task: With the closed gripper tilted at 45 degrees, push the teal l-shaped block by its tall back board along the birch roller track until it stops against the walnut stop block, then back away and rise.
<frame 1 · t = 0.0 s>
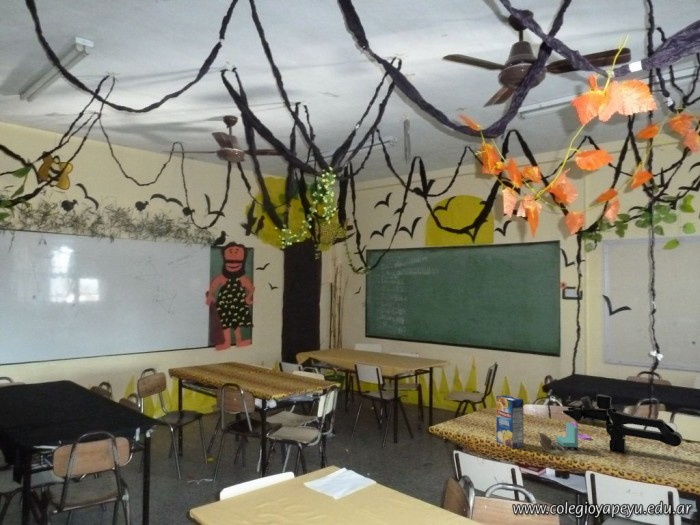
hand: (565, 409, 274), 17 cm above the table, tool horizontal, fingers open, 9 cm apart
bracket: (579, 437, 282), on the table
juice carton: (509, 444, 265), on the table
roller track: (560, 448, 259), on the table
teal l-shaped block: (566, 434, 259), point 7 cm above the table, slide at 0.0 cm
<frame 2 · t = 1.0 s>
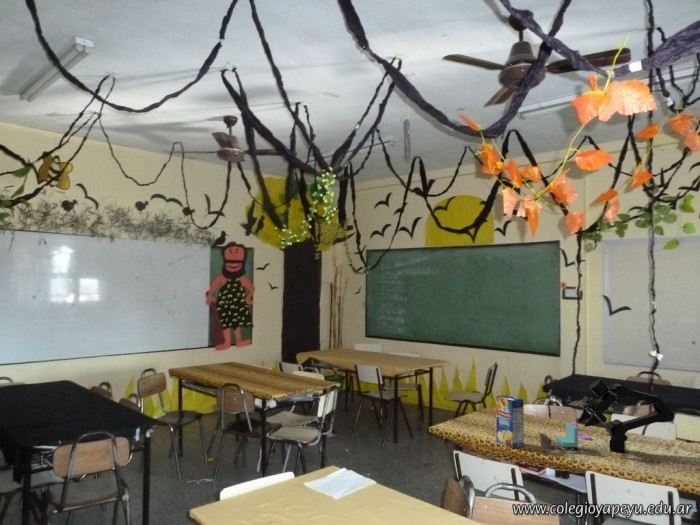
hand: (581, 423, 259), 13 cm above the table, tool tilted 45°, fingers open, 8 cm apart
nothing on the table moved.
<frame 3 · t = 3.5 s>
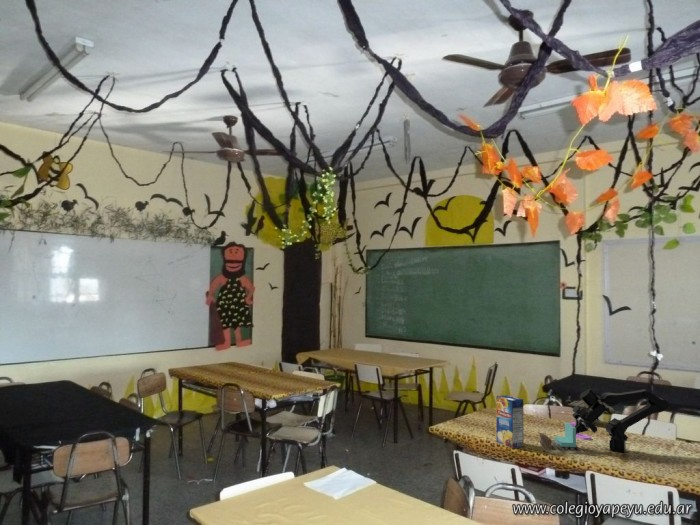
hand: (572, 433, 259), 8 cm above the table, tool tilted 45°, fingers closed, pressing on teal l-shaped block
teal l-shaped block: (564, 434, 259), point 7 cm above the table, slide at 0.8 cm, touching gripper
everything else where it was.
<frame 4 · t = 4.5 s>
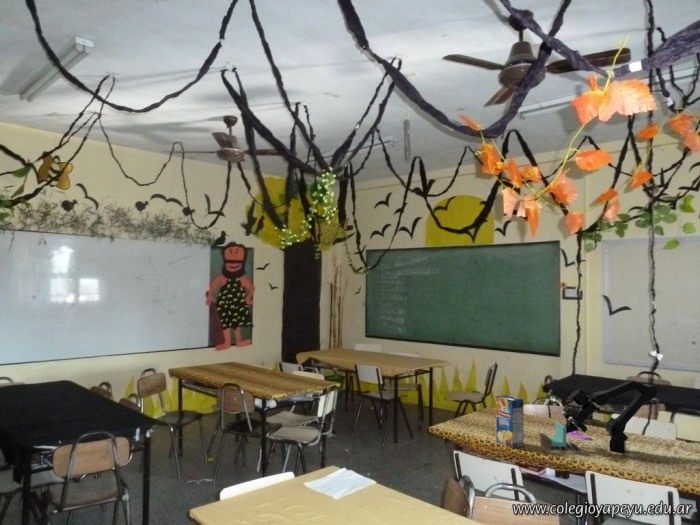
hand: (562, 433, 259), 8 cm above the table, tool tilted 45°, fingers closed, pressing on teal l-shaped block
teal l-shaped block: (555, 434, 259), point 7 cm above the table, slide at 5.6 cm, touching gripper
everything else where it was.
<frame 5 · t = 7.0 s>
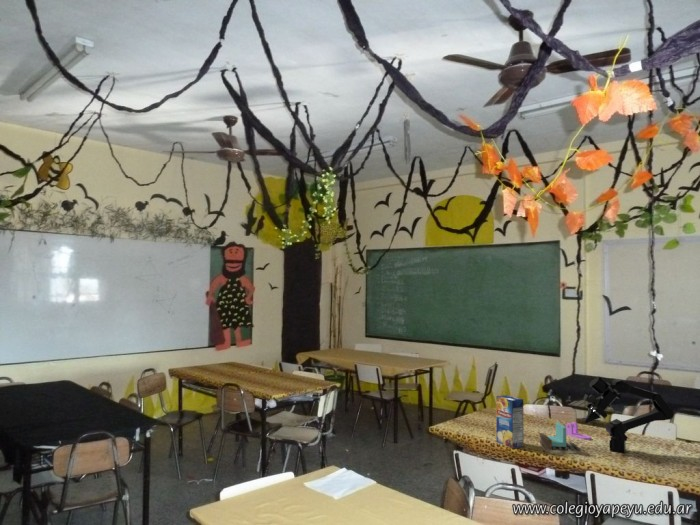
hand: (585, 422, 260), 13 cm above the table, tool tilted 40°, fingers closed
teal l-shaped block: (555, 434, 259), point 7 cm above the table, slide at 5.5 cm
everything else where it was.
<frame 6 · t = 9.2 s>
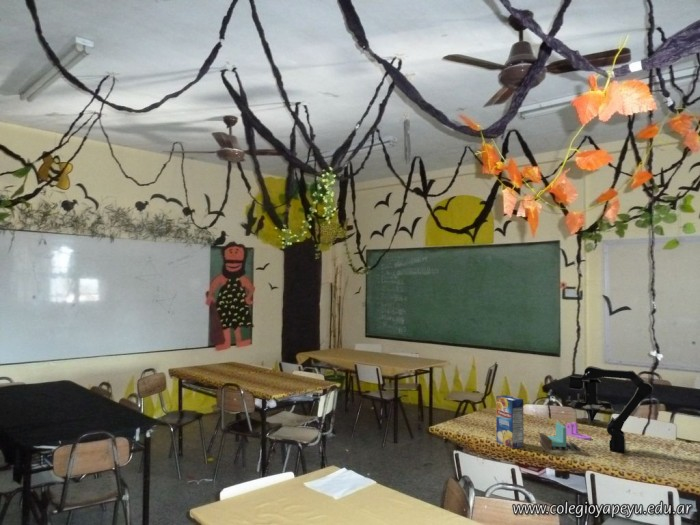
hand: (591, 421, 264), 13 cm above the table, tool pointing down, fingers closed
nothing on the table moved.
at the end: teal l-shaped block slide at 5.5 cm; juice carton moved 0.2 cm from its start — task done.
